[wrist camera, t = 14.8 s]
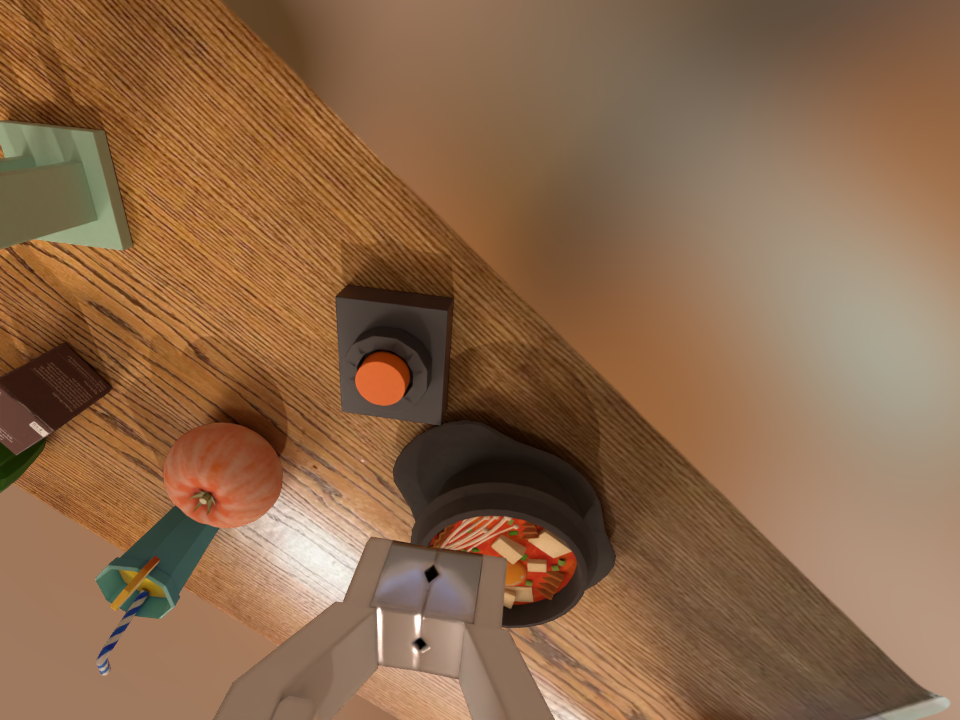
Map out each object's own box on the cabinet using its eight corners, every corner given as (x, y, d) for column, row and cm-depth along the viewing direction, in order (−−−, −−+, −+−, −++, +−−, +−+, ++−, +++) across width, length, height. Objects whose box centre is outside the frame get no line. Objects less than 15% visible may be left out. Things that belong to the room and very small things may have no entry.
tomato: (195, 392, 50) (137, 441, 43) (302, 425, 50) (262, 480, 43) (194, 472, 55) (142, 528, 48) (291, 502, 55) (253, 562, 48)
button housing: (346, 284, 42) (326, 305, 38) (453, 298, 42) (443, 320, 38) (351, 395, 48) (333, 423, 44) (446, 409, 47) (437, 438, 43)
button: (361, 347, 40) (353, 358, 39) (411, 354, 40) (405, 365, 38) (362, 390, 42) (355, 402, 41) (410, 397, 42) (404, 409, 40)
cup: (225, 565, 62) (137, 695, 49) (162, 543, 61) (57, 667, 48) (242, 488, 55) (145, 613, 42) (172, 461, 54) (52, 581, 41)
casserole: (358, 469, 52) (326, 532, 44) (496, 371, 44) (485, 427, 37) (516, 606, 59) (511, 680, 51) (657, 541, 51) (675, 616, 44)
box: (31, 366, 51) (-44, 406, 44) (66, 340, 49) (-7, 379, 42) (80, 412, 53) (15, 457, 46) (115, 389, 51) (52, 433, 44)
